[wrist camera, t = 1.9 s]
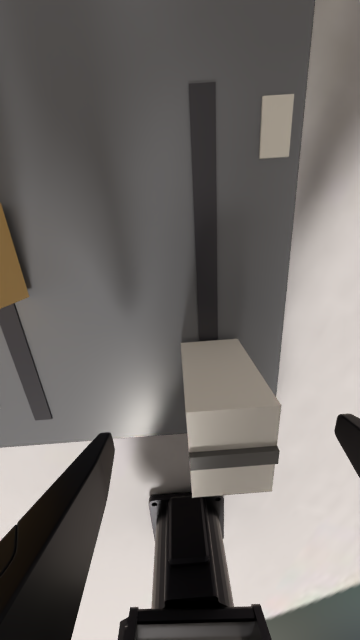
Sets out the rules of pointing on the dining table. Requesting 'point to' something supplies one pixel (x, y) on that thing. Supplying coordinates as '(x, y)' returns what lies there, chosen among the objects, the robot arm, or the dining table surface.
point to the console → (143, 201)
